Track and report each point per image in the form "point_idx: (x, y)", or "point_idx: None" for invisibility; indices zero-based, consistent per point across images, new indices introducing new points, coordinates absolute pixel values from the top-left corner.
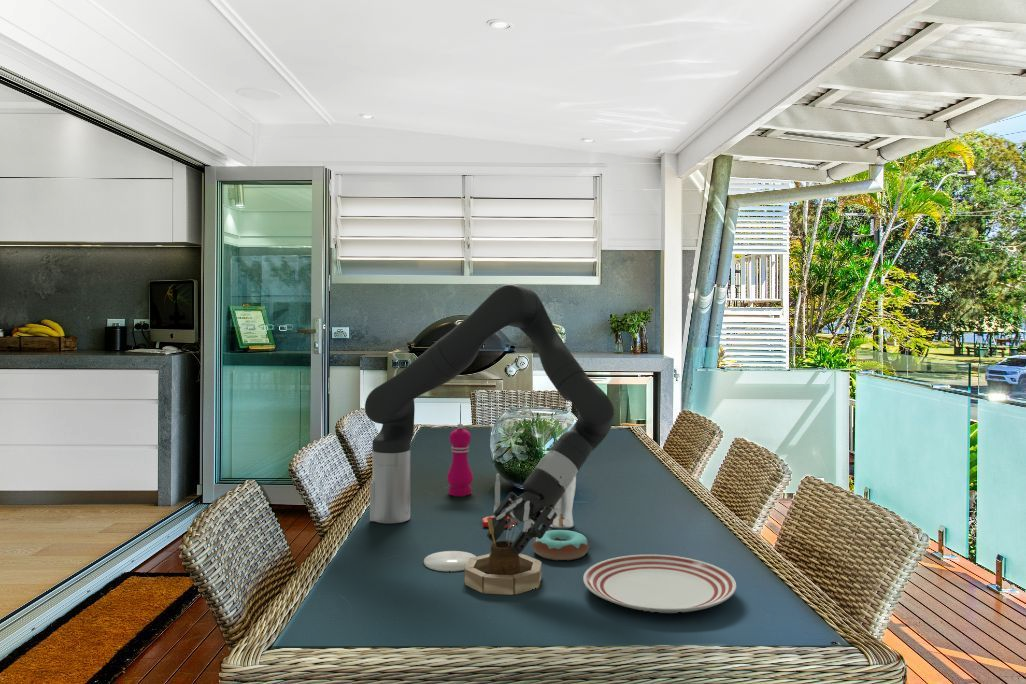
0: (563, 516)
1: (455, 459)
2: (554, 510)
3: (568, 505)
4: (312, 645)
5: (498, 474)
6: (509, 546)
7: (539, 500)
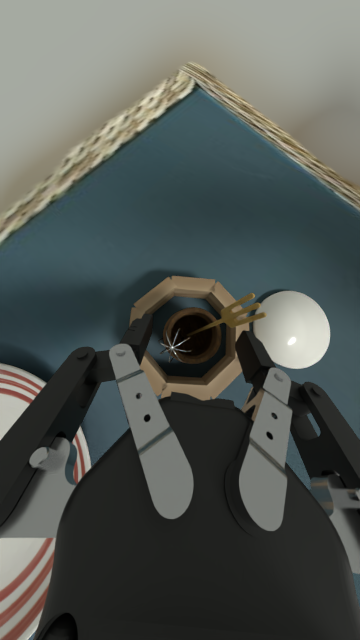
0: None
1: None
2: None
3: None
4: (178, 105)
5: None
6: (176, 333)
7: (88, 598)
